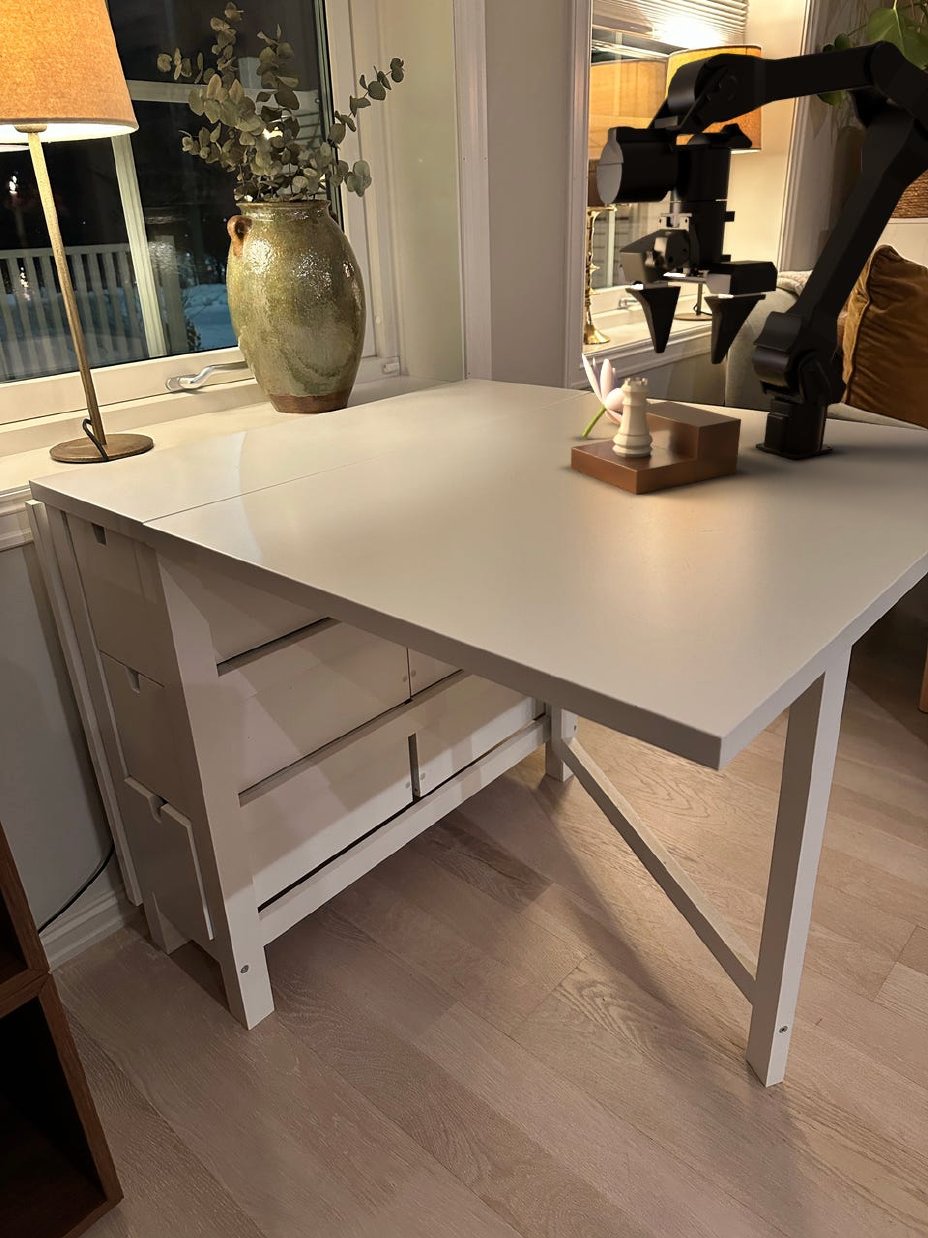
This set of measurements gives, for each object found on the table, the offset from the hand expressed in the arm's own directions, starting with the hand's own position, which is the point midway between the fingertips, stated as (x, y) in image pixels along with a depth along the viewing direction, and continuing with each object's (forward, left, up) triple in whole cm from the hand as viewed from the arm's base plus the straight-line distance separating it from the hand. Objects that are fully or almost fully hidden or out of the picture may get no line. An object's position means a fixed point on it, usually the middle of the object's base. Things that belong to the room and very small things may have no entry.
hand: (686, 358), depth 97 cm
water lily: (-3, -15, -12) cm, 20 cm away
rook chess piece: (+7, 0, -10) cm, 12 cm away
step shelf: (+3, 0, -12) cm, 12 cm away
